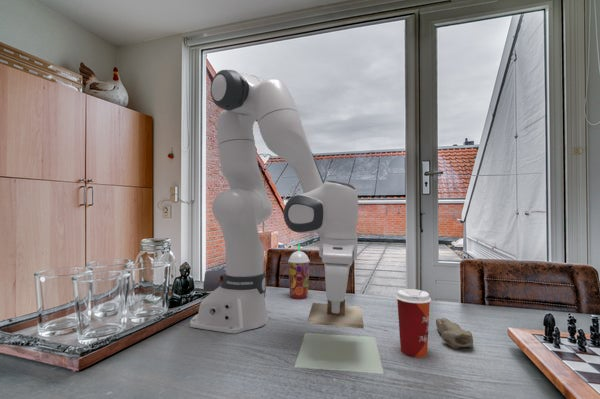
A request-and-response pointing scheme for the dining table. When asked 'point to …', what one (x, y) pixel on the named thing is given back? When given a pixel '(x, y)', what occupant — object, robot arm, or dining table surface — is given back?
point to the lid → (336, 315)
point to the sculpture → (454, 334)
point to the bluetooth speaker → (212, 279)
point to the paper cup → (413, 321)
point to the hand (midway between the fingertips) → (335, 309)
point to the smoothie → (298, 274)
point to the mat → (339, 353)
